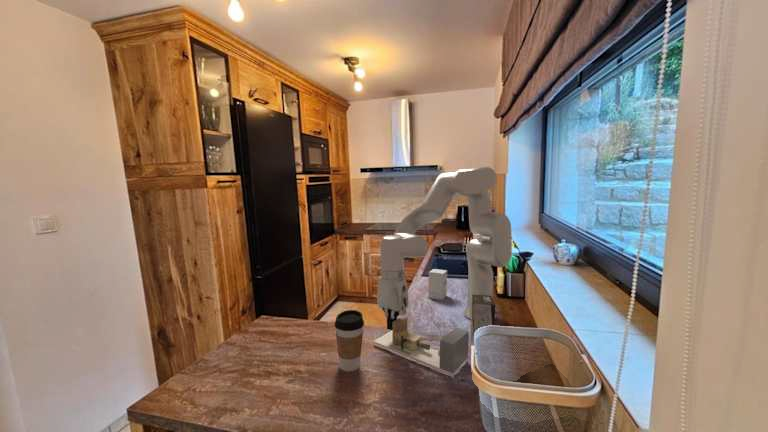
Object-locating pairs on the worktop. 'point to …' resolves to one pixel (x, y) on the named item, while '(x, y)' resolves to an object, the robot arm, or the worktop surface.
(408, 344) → the beige stepped block
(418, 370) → the worktop surface
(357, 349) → the coffee cup
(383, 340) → the beige vise
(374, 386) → the worktop surface
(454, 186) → the robot arm
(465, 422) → the worktop surface
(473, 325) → the coffee box
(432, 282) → the supplement box
